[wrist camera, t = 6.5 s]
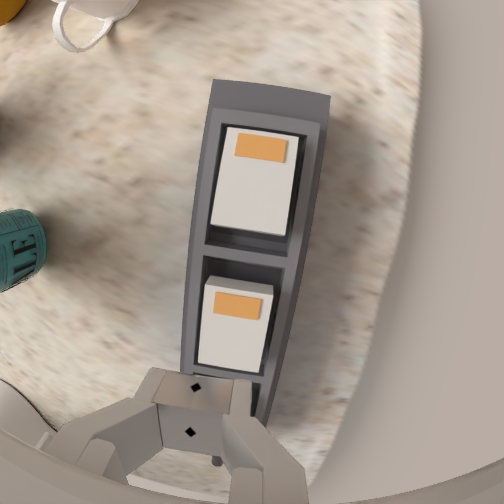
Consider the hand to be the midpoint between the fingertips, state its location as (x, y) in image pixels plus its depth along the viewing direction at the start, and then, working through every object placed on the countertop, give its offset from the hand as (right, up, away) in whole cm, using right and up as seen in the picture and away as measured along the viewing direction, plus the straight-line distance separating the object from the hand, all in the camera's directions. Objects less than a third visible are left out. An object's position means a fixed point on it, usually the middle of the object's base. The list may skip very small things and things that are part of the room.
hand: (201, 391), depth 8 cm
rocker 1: (+2, +8, +7) cm, 11 cm away
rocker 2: (0, 0, +9) cm, 9 cm away
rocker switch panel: (0, -2, +15) cm, 15 cm away
